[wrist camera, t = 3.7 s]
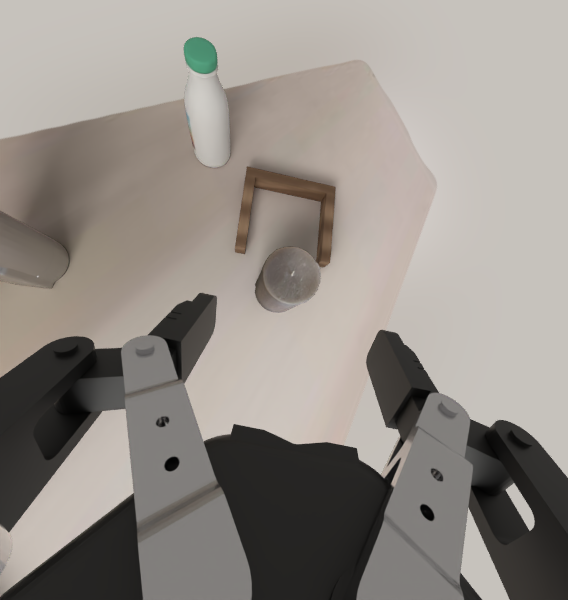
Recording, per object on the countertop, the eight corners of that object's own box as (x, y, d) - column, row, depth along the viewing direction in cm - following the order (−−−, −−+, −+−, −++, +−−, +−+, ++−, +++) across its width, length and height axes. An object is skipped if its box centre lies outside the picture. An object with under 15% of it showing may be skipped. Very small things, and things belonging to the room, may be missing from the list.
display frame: (324, 267, 55) (330, 262, 51) (235, 252, 51) (235, 246, 48) (329, 195, 58) (335, 186, 55) (246, 177, 54) (247, 166, 51)
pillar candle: (246, 280, 51) (251, 257, 36) (286, 261, 53) (306, 233, 39) (268, 321, 50) (281, 315, 36) (307, 300, 53) (334, 286, 38)
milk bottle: (237, 153, 55) (238, 52, 36) (215, 175, 53) (204, 81, 34) (210, 131, 54) (196, 17, 35) (187, 153, 53) (158, 44, 33)
